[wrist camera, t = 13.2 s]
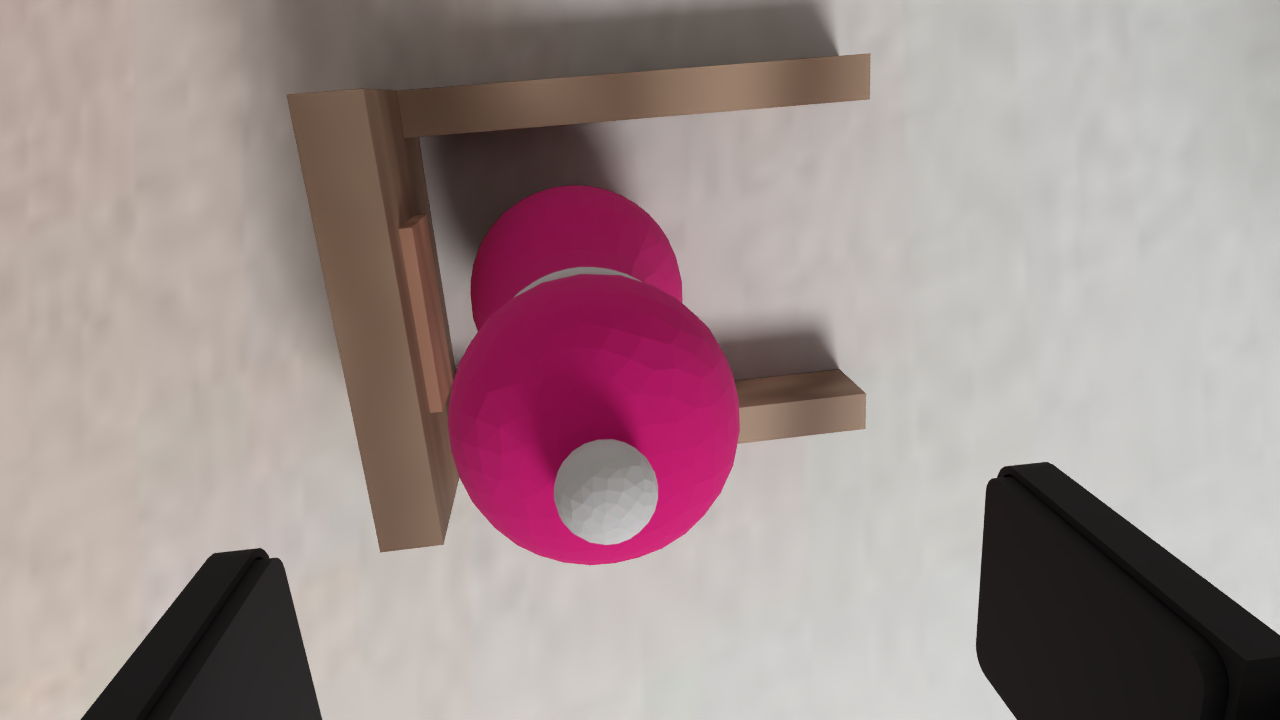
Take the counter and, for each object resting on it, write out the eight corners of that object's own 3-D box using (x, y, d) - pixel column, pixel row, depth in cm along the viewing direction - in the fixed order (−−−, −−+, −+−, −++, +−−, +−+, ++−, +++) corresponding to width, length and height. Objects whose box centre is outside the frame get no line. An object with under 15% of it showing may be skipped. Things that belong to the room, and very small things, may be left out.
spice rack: (840, 57, 30) (937, 44, 23) (839, 401, 35) (920, 486, 27) (355, 96, 29) (286, 94, 21) (418, 449, 33) (380, 552, 26)
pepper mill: (462, 190, 30) (319, 343, 11) (649, 160, 31) (811, 257, 12) (501, 368, 33) (436, 740, 14) (675, 337, 33) (844, 657, 14)
